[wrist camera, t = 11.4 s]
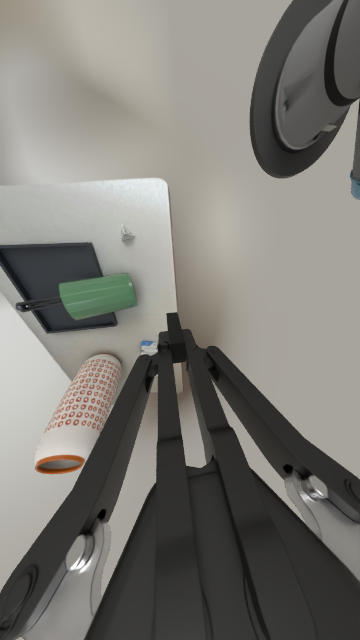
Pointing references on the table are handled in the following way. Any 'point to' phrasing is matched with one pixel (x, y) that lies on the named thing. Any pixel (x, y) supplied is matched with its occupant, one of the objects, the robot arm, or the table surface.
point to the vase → (79, 417)
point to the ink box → (149, 348)
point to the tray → (53, 280)
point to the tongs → (22, 305)
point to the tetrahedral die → (126, 233)
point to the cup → (97, 295)
